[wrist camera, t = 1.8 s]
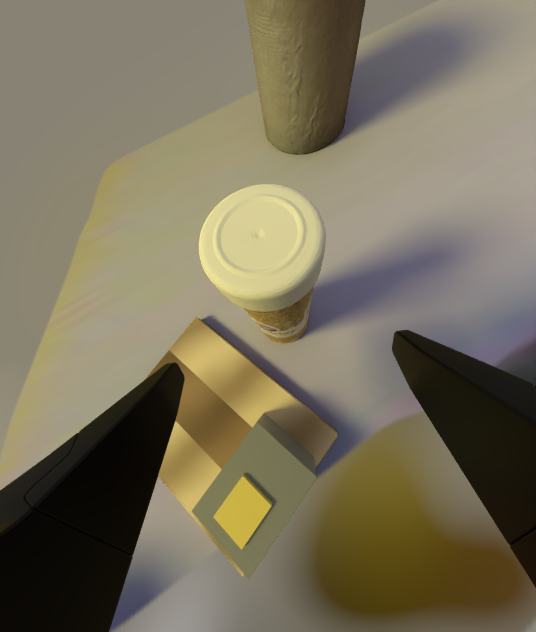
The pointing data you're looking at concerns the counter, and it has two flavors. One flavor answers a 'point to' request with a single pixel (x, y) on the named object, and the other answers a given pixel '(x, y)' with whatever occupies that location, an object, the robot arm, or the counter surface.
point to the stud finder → (256, 493)
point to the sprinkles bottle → (266, 255)
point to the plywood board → (225, 414)
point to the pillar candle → (304, 67)
